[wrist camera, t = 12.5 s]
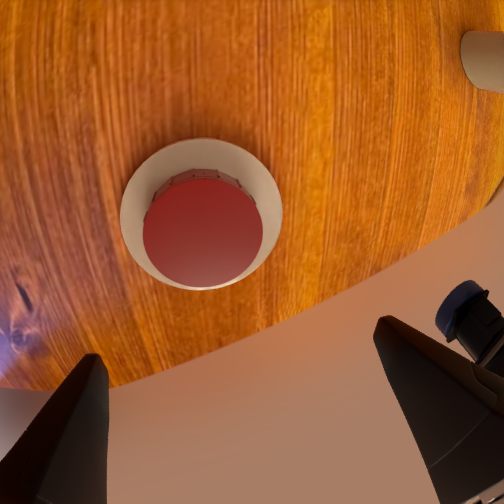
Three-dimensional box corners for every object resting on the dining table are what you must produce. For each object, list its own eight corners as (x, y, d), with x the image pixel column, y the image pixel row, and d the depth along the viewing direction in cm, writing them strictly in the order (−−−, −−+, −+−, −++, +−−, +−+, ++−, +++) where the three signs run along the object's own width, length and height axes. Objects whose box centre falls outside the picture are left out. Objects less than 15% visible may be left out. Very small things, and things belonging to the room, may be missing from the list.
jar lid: (174, 149, 14) (171, 156, 12) (275, 197, 16) (285, 210, 15) (131, 247, 16) (126, 265, 14) (225, 282, 18) (229, 301, 17)
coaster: (292, 255, 19) (296, 262, 19) (160, 300, 19) (160, 307, 18) (256, 115, 15) (259, 116, 14) (97, 173, 14) (93, 178, 14)
